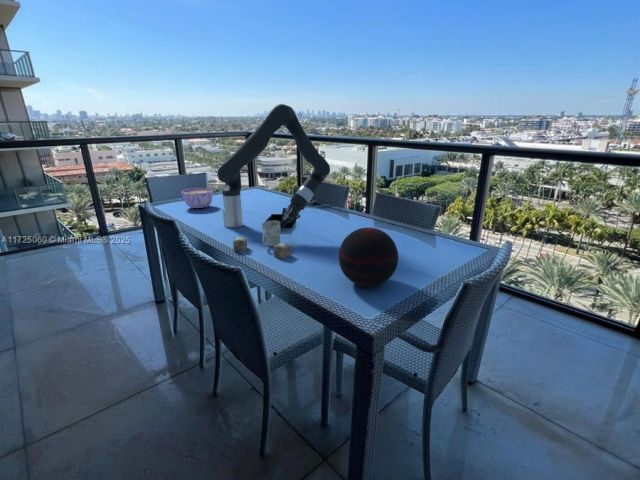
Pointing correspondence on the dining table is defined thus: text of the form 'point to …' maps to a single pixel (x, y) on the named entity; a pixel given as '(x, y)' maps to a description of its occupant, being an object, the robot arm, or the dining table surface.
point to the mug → (271, 232)
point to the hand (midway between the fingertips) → (280, 227)
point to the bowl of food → (198, 197)
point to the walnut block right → (282, 250)
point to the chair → (302, 184)
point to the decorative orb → (368, 257)
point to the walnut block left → (240, 244)
